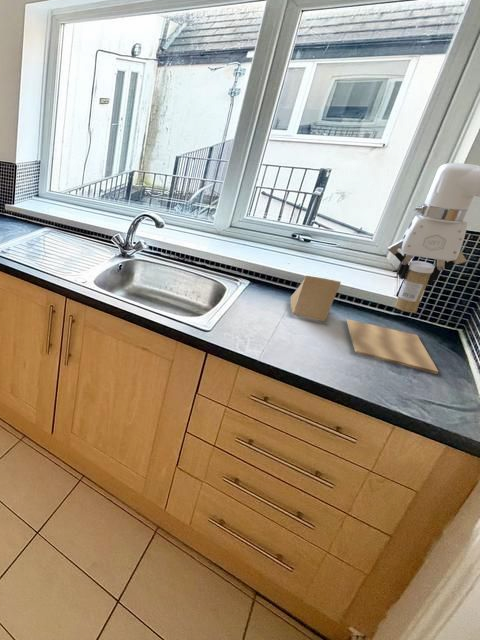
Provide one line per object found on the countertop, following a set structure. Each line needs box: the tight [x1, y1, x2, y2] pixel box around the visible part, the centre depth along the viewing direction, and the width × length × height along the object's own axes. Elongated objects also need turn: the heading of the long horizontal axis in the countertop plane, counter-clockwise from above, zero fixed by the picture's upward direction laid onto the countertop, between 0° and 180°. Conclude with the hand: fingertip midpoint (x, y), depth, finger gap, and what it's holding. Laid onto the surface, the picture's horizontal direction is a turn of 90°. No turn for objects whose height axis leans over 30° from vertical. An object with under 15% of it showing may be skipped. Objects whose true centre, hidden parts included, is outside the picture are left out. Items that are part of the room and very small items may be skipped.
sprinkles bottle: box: [393, 260, 435, 313], centre depth 112 cm, size 5×5×13 cm
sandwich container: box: [290, 275, 341, 322], centre depth 136 cm, size 9×15×15 cm, turn 147°
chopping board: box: [345, 318, 439, 375], centre depth 119 cm, size 16×22×2 cm
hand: (414, 279), depth 112 cm, fingers closed on sprinkles bottle, 4 cm apart
